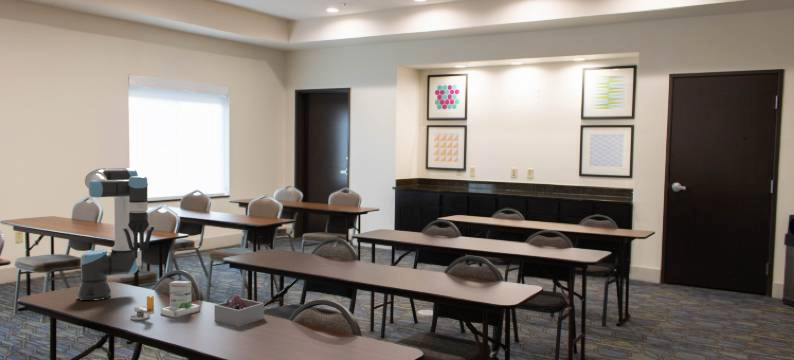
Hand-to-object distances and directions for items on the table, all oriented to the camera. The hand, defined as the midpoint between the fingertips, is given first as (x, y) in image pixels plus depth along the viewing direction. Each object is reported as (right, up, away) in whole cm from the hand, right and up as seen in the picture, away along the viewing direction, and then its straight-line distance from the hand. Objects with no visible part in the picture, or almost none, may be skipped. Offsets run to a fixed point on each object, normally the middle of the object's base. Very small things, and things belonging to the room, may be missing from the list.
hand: (138, 265), depth 270 cm
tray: (+14, -24, +14) cm, 31 cm away
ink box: (+14, -22, +14) cm, 29 cm away
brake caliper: (+41, -25, +5) cm, 48 cm away
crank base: (-1, -24, +4) cm, 25 cm away
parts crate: (+43, -25, +4) cm, 50 cm away
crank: (+2, -21, +2) cm, 21 cm away
